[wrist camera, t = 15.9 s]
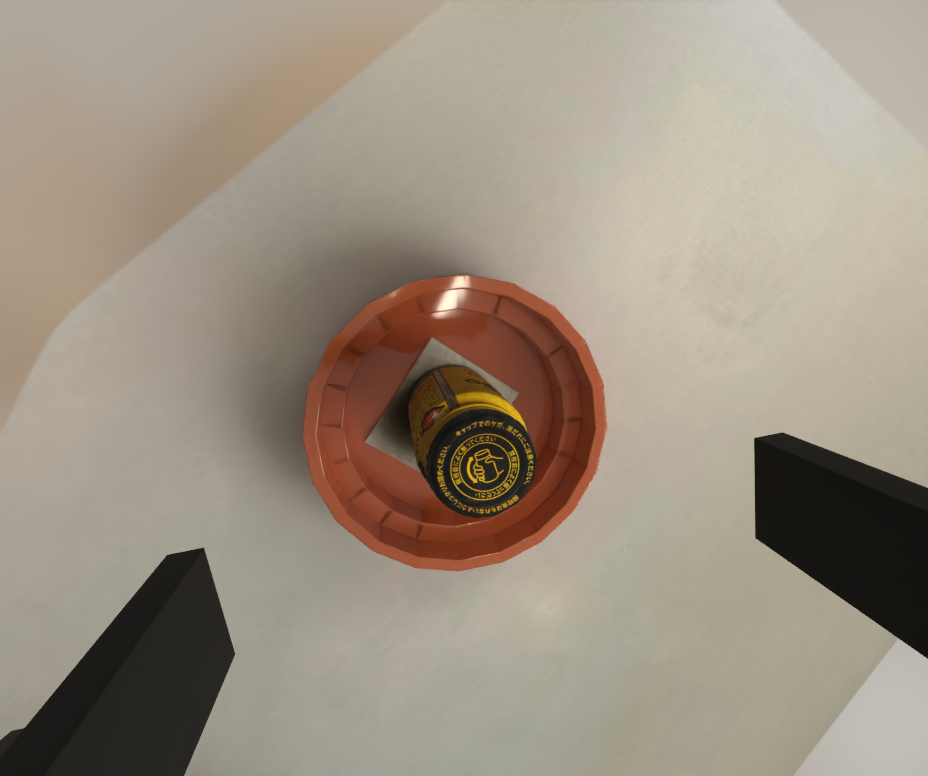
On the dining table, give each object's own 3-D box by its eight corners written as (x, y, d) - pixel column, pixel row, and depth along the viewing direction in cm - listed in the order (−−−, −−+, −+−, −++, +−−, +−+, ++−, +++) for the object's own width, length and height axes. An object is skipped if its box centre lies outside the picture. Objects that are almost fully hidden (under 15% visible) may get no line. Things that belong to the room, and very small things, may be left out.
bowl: (289, 298, 32) (272, 301, 27) (565, 260, 34) (594, 255, 29) (344, 555, 36) (337, 597, 31) (587, 506, 38) (616, 538, 33)
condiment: (518, 392, 35) (583, 445, 23) (453, 490, 36) (484, 589, 24) (431, 336, 33) (455, 363, 22) (364, 440, 34) (352, 520, 22)
